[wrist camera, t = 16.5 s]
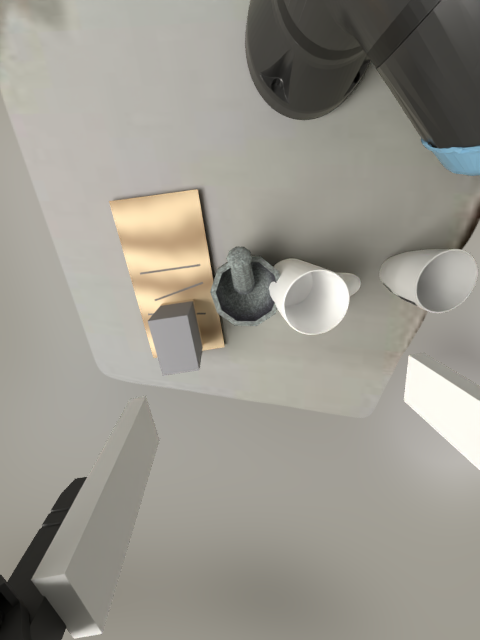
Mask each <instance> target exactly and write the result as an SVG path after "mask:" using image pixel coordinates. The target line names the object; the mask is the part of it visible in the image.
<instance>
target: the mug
mask: <svg viewBox="0 0 480 640" xmlns="http://www.w3.org/2000/svg"><path fill="white" fill-rule="evenodd" d="M273 267H274V268H275V269H276V270H277V271H279V274H280V278H279V279H278V281H277V283H275V282H271V284H270V286H269V291H270V296H271V298H272V299H273V301H274V302H275V305H276V307H277V309H278V311H279V312H280V313H281V315H282V316H283V318H284V319H285V320H286V321H287V323H288V324H289V325H290V326H291V327H292V328H293V329H295V330H296V331H298V332H300V333H304V334H311V335H314V334H321V333H324V332H327V331H329V330H330V329H332V328H333V327H335V326H336V325H337V324H338V323H339V322H340V321H341V320H342V319H343V317H344V316H345V314H346V311H347V309H348V305H349V296H351V295H353V294H355V293H356V292H357V291H358V290H359V288H360V285H361V281H360V279H359V277H357V276H356V275H354V274H351V273H335V272H333V271H331V270H328V269H325V268H322V267H319V266H316V265H313V264H311V263H308V262H305V261H302V260H299V259H293V258H291V259H285V260H282V261H280V262H278V263H277V264H276V265H274V266H273Z"/></svg>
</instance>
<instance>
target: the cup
mask: <svg viewBox="0 0 480 640" xmlns="http://www.w3.org/2000/svg"><path fill="white" fill-rule="evenodd" d="M379 277H380V280H381V282H382V283H383V284H384V285H385V286H386V287H387V288H388V290H390V291H391V292H392V293H394V294H395V295H397V296H398V297H400V298H401V299H403V300H404V301H406V302H409V303H411V304H413V305H415V306H417V307H419V308H422V309H424V310H426V311H428V312H431V313H444V312H447V311H450V310H452V309H454V308H456V307H458V306H459V305H460V304H462V303H463V302H464V301H465V300H466V299H467V298H468V296H469V295H470V294H471V292H472V291H473V289H474V287H475V285H476V282H477V278H478V266H477V263H476V260H475V259H474V257H473V256H472V255H471V254H470V253H468V252H467V251H464V250H460V249H425V250H417V251H410V252H404V253H401V254H398V255H395V256H392V257H390V258H388V259H387V260H386V261H385V262H384V263H383V264H382V266H381V268H380V272H379Z"/></svg>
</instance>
